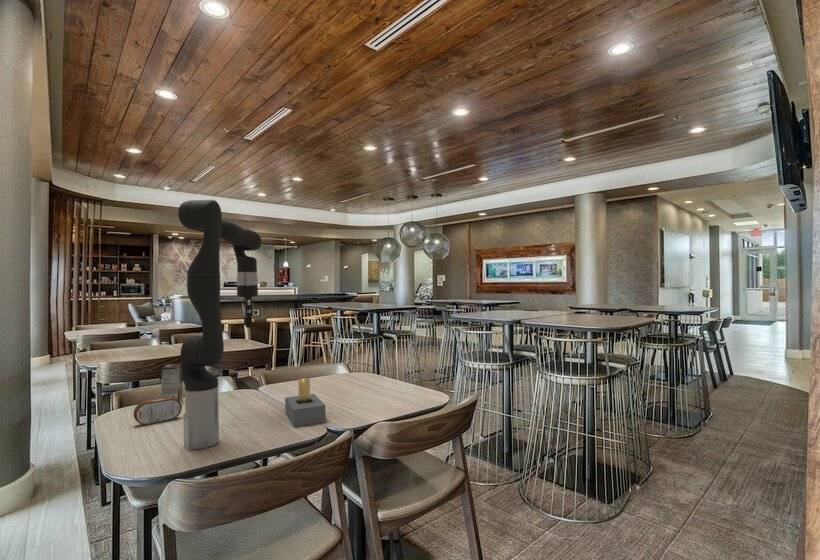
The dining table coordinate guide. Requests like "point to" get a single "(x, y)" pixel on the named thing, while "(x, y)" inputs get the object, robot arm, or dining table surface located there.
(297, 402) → the socket block
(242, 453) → the dining table surface
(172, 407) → the tin
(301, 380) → the pin
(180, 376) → the coffee box
